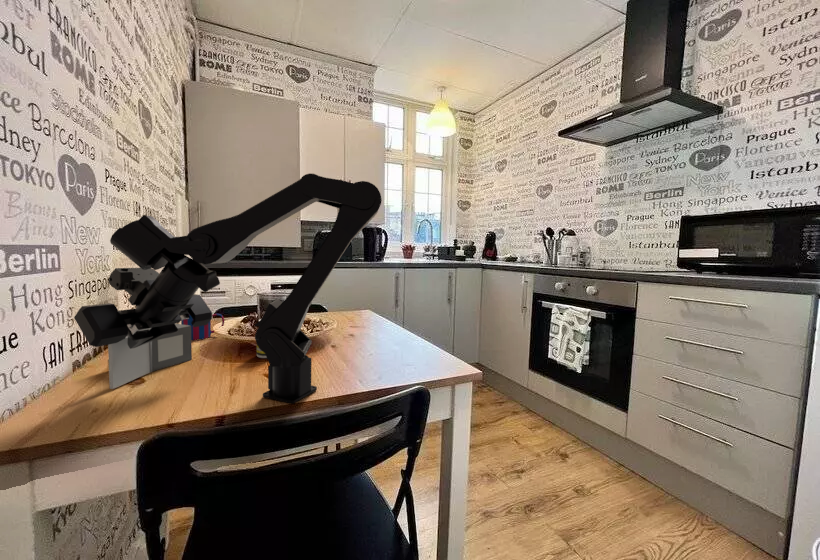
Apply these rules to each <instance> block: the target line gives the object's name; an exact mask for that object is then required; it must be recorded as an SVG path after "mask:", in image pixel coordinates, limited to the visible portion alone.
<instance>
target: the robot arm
mask: <svg viewBox="0 0 820 560" xmlns="http://www.w3.org/2000/svg"><path fill="white" fill-rule="evenodd" d="M314 203H320V204H323V205H327V206H329V207H333V208H336V209H339V210H338V213H337V215H336V218H335V221H334V224H333V225H332V228H331V230H330V231H329V233H328V235H327V236H326V237H325V239H324V240H323V242H322V244H321V245H320V247H319V248H318V250H317V251H316V253H315V255H314V256H313V257H312V259H311V260H310V262H309V264H308V265H307V267H306V268H305V270H304V271H303V273H302V274H301V276H300V278H299V279H298V281H297V282H296V284H295V285H294V287H293V288H292V290H291V292H290V293H289V294H288V296H287V297H286V298H285V299H284V300H283V301H282V300H281V299H280V298H277V299H275V300H274V301H272V302H270V303H268V305H267V307H266V308H265V312H264V314H263V316H262V318H260V319H261V320H260V319H259V320H260V321H259V320H258V322H256V323H255V324H254V326H255V327H257V329H256V332H255V334H254V339H255V343H256V347H257V346H258V347H259V349H260V350H262V351H263V352H264V353H265V354H266V357H267V358H266V359H267V361H268V364H269V365H268V367H267V374H268V376H267V383H268V384H267V388H268V390H267V391H265V392H262V397H263V398H266V399H271V400H272V399H273V400H276V401H280V402H284V403H289V404H294V403H295V404H296V403H297V402H299V401H300V400H302V399H304V398H305V397H307V396H308V395H310V394H312V393H313V392H315V391H316V390H317V389H318V387H317V386H316V385H312V357H309V356H308V355H307V353H308V352H309V350H310V348H311V345H312V339H311V338H310V337H309V336H308V335H307V334H306V333H304V332H303V330H301V329H302V327H303V324H304V322H305V320H306V316H307V314H308V311H309V307H311V304H312V303H313V301H314V299H315V298H316V297H317V295H318V294H319V291H320V290H321V288H322V287H323V285H324V284H325V282H326V281H327V279H328V278H329V276H330V275H331V273H332V271H333V270H334V268H335V267H336V266H337V264H338V262H339V261H340V259H341V257H342V256H343V254H344V253H345V251H346V250H347V249H348V247H349V245H350V244H351V242H352V240H353V239H355V237H357V235H358V234H359V233H360V232H361V231H362V230H363V229H364V228H365V227H366V226H367V225H368V224H369V223H370V221H372V219H374V218H375V216H376V215H377V213H378V212H379V210H380V208H381V205H382V194H381V191H380V190H379V188H378V187H377V186H376V185H375V184H373V183H372V182H370V181H365V180H361V181H355V182H349V181H346V180H343V179H342V180H341V179H336V178H331V177H325V176H324V177H323V176H320V175H318V174H316V173H307V174H304V175H303V176H302V177H301V178H299V179H298V180H296V181H295V182H293V183H292V184H290V185H288V186H286V187H285V188H282V189H281V190H278V191H277V192H275V193H274V194H272V195H270V196H269V197H267V198H265V199H263V200H261V201H260V202H259V203H256V204H254V205H253V206H251V207H249V208H248V209H246V210H243V212H241V213H239V214H236V215H234V216H230V217H227V218H223V219H219V220H215V221H212V222H209V223H206V224H203V225H200V226H198V227H196V228H193V229H191V230H190V231H189V232H188V233H187V235H183V236H182V235H181V236H174V235H173V234H172V233H171V232H170V231H168V230H167V229H166V228H165V227H163V225H161V223H160V222H159V220H157V219H156V218H154V216H151V215H148V214H147V215H146V214H143V215H142V216H141V217H140V218H139V219H138V220H134V221H131V222H128V223H127V224H125V225H124V226H122V227H119V228H117V229H116V230H115V232H113V233H112V235H111V237H110V240H109V243H110V244H111V245H112V246H113V247H114V248H116V249H117V250H118V251H119V252H121V254H122V255H124V256H125V257H127V258H128V259H129V260H130V261H131V262H133V263H134V264H136V266H137V267H115V268H114V269H113V270H112V272H110V274H109V277H108V284H109V285H110V286H111V287H112V288H113V289H114V290H115V291H125V292H127V293H128V294H129V295H130V297H129V298H128V302H129V303H130V305H131V306H135V308H131V309H130V308H128V309H120V310H119V309H118V308H117V306H116V305H115V304H114V303H109V302H108V303H102V304H99V303H98V304H90V305H81V307H80V308H79V309H78V310H77V312H76V314H75V315H74V316H73V319H74V321H75V322H76V324H77V325H78V328H79V330H81V332H82V334H83V336H84V337H85V339H86V341H87V342H88V345H89V346H92V347H96V348H98V347H103V346H108V345H109V344H114V343H118V342H119V341H121V340H123V339H125V338H126V336H127V335H128V346H129V348H130V349H132V348H136V347H138V346H141V345H143V344H146V343H148V342H151V341H153V340H156V339H158V338H161V337H164V336H166V335H169V334H172V333H175V332H177V331H178V328H177V327H176V325H175V324H180V322H181V320H184V319H189V318H190V316H189V315H191V317H192V318H193V321H192V322H191V324H192V325H193V326H194V327H198V326H203V325H207V324H208V323H209V322H210V320H211V321H212V318H213V317H212V315H213V312H212V310H211V309H210V307H209V306H208V304H207V303H206V301H205V300H204V299H203V296H201V294H196V293H197V291H198V290H199V289H200V290H201V291H202V292H204V293H205V292H206V293H207V292H208V291H210V290H212V289H214V288H216V287H218V286H220V284H221V281H220V280H219V279H220V278H219V277H218V276H217V271H216V270H210V269H209V268H207V266H205V265H212V264H223V263H228V262H230V261H232V260H233V259H234V258H235V257H236V256H237V255H239V254H240V253H242V251H243V250H244V249H246V248H247V246H248V245H249V244H250V243H251V242H252V241H253V240H254V239H256V237H257V236H259V235H261V234H263V233H264V232H267V230H269V229H270V228H272V227H275V226H276V225H278V224H279V223H281V222H283V221H285V220H286V219H288V218H290V217H292V216H293V215H295V214H297V213H298V212H301V211H302V210H304V209H306V208H307V207H309V206H311V205H312V204H314ZM160 269H161V271H160V272H158V270H160Z"/></svg>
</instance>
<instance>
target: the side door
mask: <svg viewBox="0 0 820 560" xmlns="http://www.w3.org/2000/svg"><path fill="white" fill-rule="evenodd" d="M107 347H108V348H107V350H108V351H107V352H108V353H107V354H108V357H107V358H108V359H107V370H108V376H109V378H108V379H109V389H111V390H114V389H116V388H119V387H121V386H123V385H125V384H127V383H129V382H133V381H134V380H136V379H138V378H141V377H143V376H145V375H147V374H150V373H152V372H153V371H152V341H151V342H148V343H146V344H143V345H141V346H138V347H136V348H132V349H130V348H129V346H128V336H127V337H126V338H125V339H123V340H121V341H119V342H118V343H114V344H109V345H107Z"/></svg>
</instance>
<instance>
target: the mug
mask: <svg viewBox="0 0 820 560" xmlns="http://www.w3.org/2000/svg"><path fill="white" fill-rule="evenodd" d="M189 316H190V318H189V319H184V320H181V321H180V322H181V323H180V324H182V325H189V326H191V340H192V341H198V340H197V339H202V340H205V339H204V338H207V339H209V338H211V335H212V334H214V333H215V332H214V330H212V323H211V322H212V319H211V320H210V322H209V323H208V324H207V325H203V326H198V327H194V326H193V325H192V324H191V322H192V321H193V318H192V317H191V315H189ZM215 316H219V317H220V318H221V325H220V327H221V326H223V327H224V324H225V318H224V316H223V314H221V313H212V318H213V317H215ZM208 337H209V338H208Z"/></svg>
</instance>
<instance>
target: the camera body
mask: <svg viewBox="0 0 820 560" xmlns="http://www.w3.org/2000/svg"><path fill="white" fill-rule="evenodd" d="M175 325H176V327H177V328H178V331H177V332H175V333H172V334H169V335H166V336H164V337H161V338H158V339H156V340H153V341H152V372H156V371H159V370H162V369H165V368H169V367H171V366H176V365H178V364H182V363H186V362H189V361H192V360H193V358H192V356H193V355H192V352H193V351H192V346H193V345H192V341H191V326H189V325H182V324H181V323H175ZM127 336H128V335H127ZM127 336H126V337H127Z"/></svg>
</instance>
